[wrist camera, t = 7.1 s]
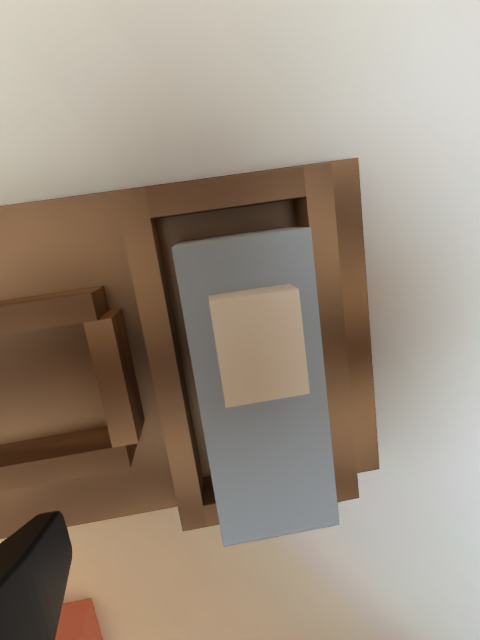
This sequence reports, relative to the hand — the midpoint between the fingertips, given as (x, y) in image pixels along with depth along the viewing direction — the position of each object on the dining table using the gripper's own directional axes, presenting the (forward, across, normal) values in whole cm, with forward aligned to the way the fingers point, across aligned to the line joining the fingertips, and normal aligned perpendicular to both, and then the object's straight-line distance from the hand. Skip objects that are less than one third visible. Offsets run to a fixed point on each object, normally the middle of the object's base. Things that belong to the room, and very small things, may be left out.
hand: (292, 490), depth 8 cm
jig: (+11, +4, 0) cm, 12 cm away
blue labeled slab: (+10, 0, 0) cm, 10 cm away
